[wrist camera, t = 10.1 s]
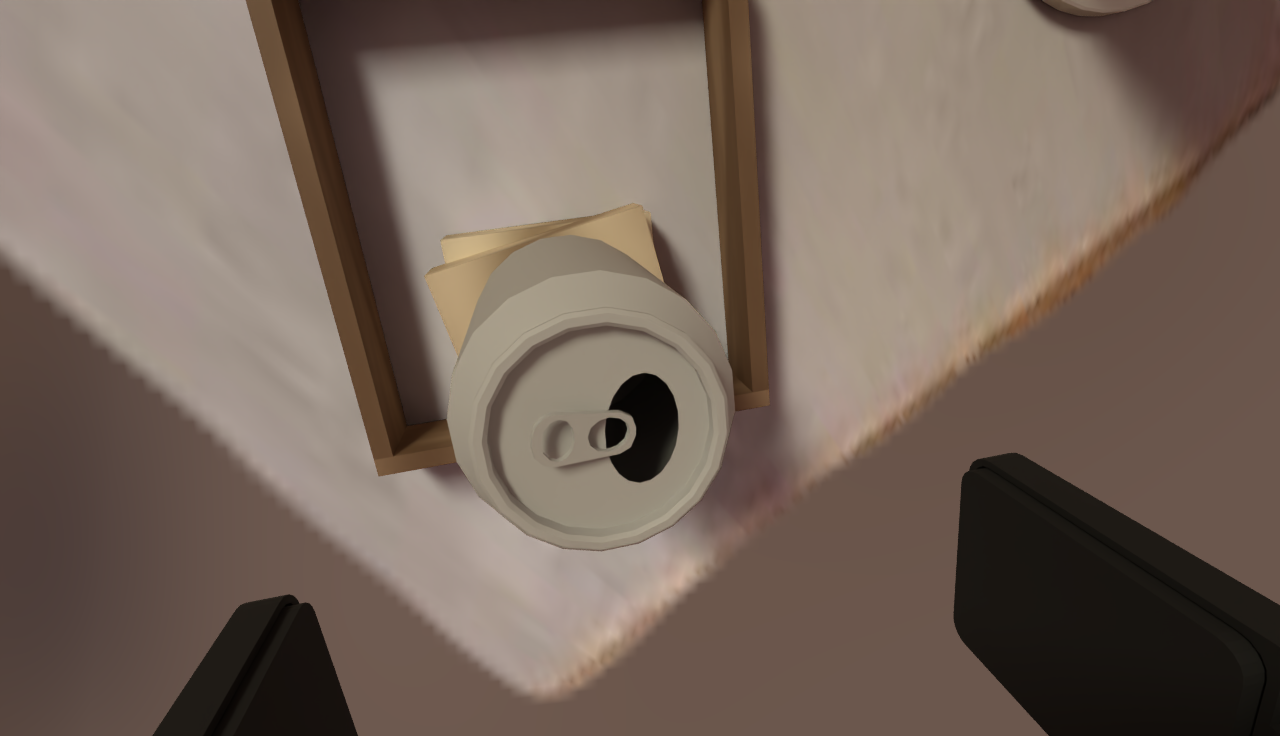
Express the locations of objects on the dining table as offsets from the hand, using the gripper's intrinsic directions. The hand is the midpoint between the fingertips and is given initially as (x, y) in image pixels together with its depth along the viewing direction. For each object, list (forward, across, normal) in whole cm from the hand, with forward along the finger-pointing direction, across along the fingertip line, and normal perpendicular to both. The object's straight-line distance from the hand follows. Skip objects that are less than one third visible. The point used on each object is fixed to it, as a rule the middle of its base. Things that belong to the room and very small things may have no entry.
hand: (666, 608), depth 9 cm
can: (+18, 0, 0) cm, 18 cm away
